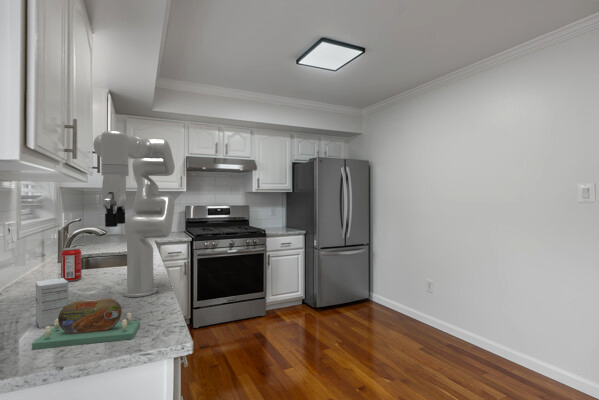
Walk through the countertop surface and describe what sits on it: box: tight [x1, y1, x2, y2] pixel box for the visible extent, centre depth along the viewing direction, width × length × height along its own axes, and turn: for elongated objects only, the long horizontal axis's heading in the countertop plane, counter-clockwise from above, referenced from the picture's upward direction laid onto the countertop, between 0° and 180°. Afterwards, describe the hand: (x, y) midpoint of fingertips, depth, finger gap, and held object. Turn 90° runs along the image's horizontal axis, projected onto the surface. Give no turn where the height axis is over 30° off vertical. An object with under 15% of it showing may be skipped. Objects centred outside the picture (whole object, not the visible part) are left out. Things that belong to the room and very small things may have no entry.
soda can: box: [60, 247, 82, 283], centre depth 153 cm, size 8×8×15 cm
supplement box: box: [35, 277, 69, 329], centre depth 101 cm, size 7×7×13 cm
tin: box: [58, 298, 123, 334], centre depth 91 cm, size 15×3×8 cm, turn 105°
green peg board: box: [31, 312, 141, 350], centre depth 90 cm, size 10×23×5 cm, turn 106°
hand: (115, 225), depth 104 cm, fingers open, 9 cm apart
